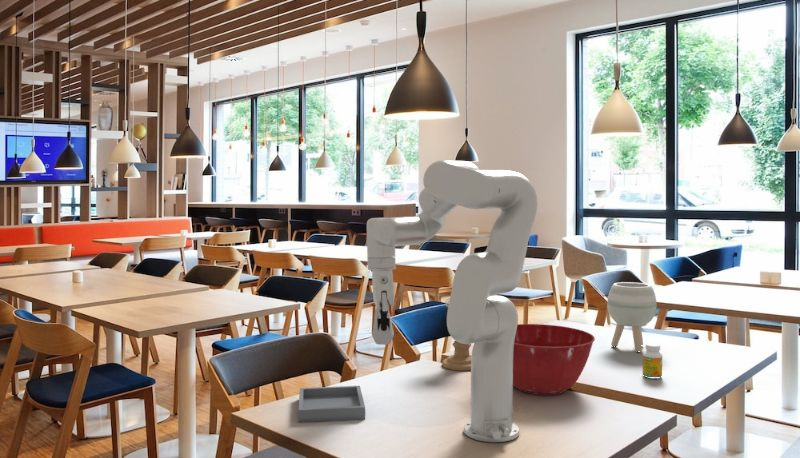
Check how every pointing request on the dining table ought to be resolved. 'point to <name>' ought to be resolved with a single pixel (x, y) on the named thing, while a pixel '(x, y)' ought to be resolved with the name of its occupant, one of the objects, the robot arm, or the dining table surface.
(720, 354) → the dining table surface
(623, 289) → the planter
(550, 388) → the mixing bowl
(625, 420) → the dining table surface
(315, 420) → the tray
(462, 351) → the candle holder
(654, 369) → the supplement bottle
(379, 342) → the salt shaker
